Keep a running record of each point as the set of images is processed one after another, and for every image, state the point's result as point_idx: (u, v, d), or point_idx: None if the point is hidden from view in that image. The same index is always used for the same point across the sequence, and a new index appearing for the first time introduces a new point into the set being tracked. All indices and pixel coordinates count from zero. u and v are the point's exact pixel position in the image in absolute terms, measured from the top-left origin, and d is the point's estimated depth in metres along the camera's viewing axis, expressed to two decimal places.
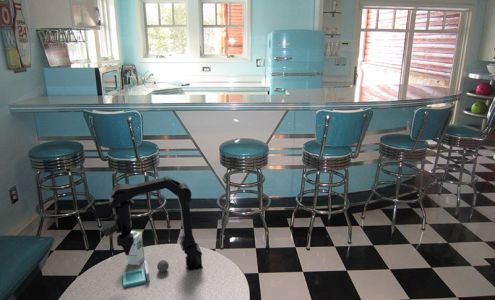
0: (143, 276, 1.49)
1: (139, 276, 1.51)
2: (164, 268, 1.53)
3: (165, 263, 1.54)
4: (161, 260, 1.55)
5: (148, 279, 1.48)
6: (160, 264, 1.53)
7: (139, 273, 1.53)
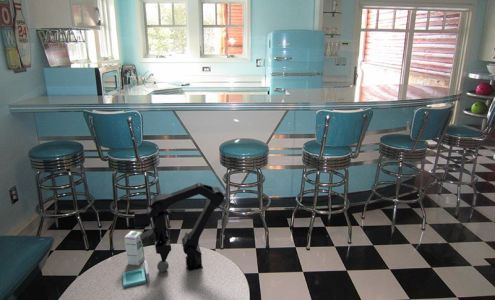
0: (143, 276, 1.49)
1: (139, 276, 1.51)
2: (164, 268, 1.53)
3: (165, 263, 1.54)
4: (161, 260, 1.55)
5: (148, 279, 1.48)
6: (160, 264, 1.53)
7: (139, 273, 1.53)
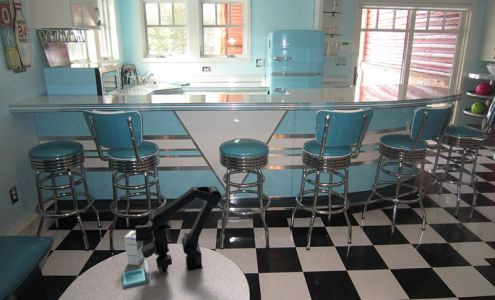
0: (143, 276, 1.49)
1: (139, 276, 1.51)
2: None
3: None
4: None
5: (148, 279, 1.48)
6: None
7: (139, 273, 1.53)
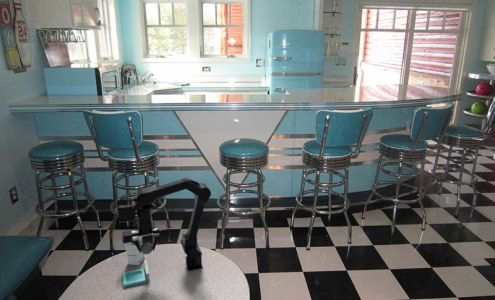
0: (143, 276, 1.49)
1: (139, 276, 1.51)
2: None
3: (143, 246, 1.47)
4: None
5: (148, 279, 1.48)
6: None
7: (139, 273, 1.53)
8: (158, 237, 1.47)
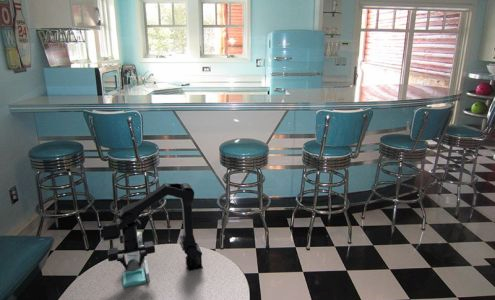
0: (143, 276, 1.49)
1: (139, 276, 1.51)
2: (127, 266, 1.47)
3: (129, 263, 1.46)
4: (135, 259, 1.48)
5: (148, 279, 1.48)
6: None
7: (139, 273, 1.53)
8: (144, 254, 1.46)
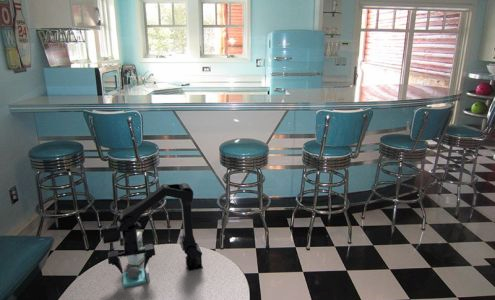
0: (143, 276, 1.49)
1: (139, 276, 1.51)
2: None
3: (130, 271, 1.47)
4: (136, 267, 1.49)
5: (148, 279, 1.48)
6: (130, 268, 1.49)
7: None
8: (149, 256, 1.47)
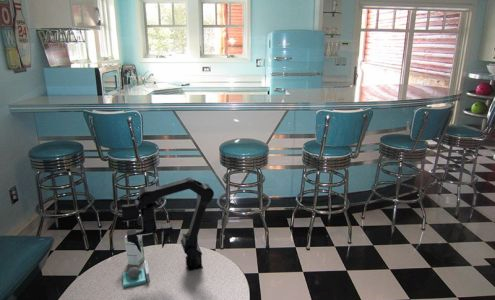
0: (143, 276, 1.49)
1: (139, 276, 1.51)
2: None
3: (130, 271, 1.47)
4: (136, 267, 1.49)
5: (148, 279, 1.48)
6: (130, 268, 1.49)
7: None
8: None
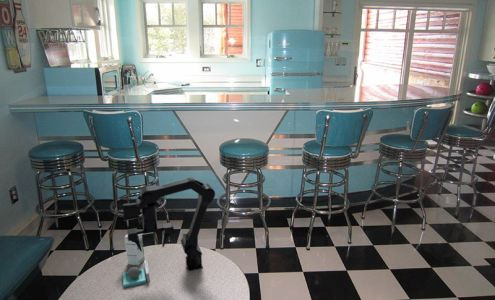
0: (143, 276, 1.49)
1: (139, 276, 1.51)
2: (128, 273, 1.48)
3: (130, 271, 1.47)
4: (136, 267, 1.49)
5: (148, 279, 1.48)
6: (130, 268, 1.49)
7: None
8: (168, 234, 1.49)
